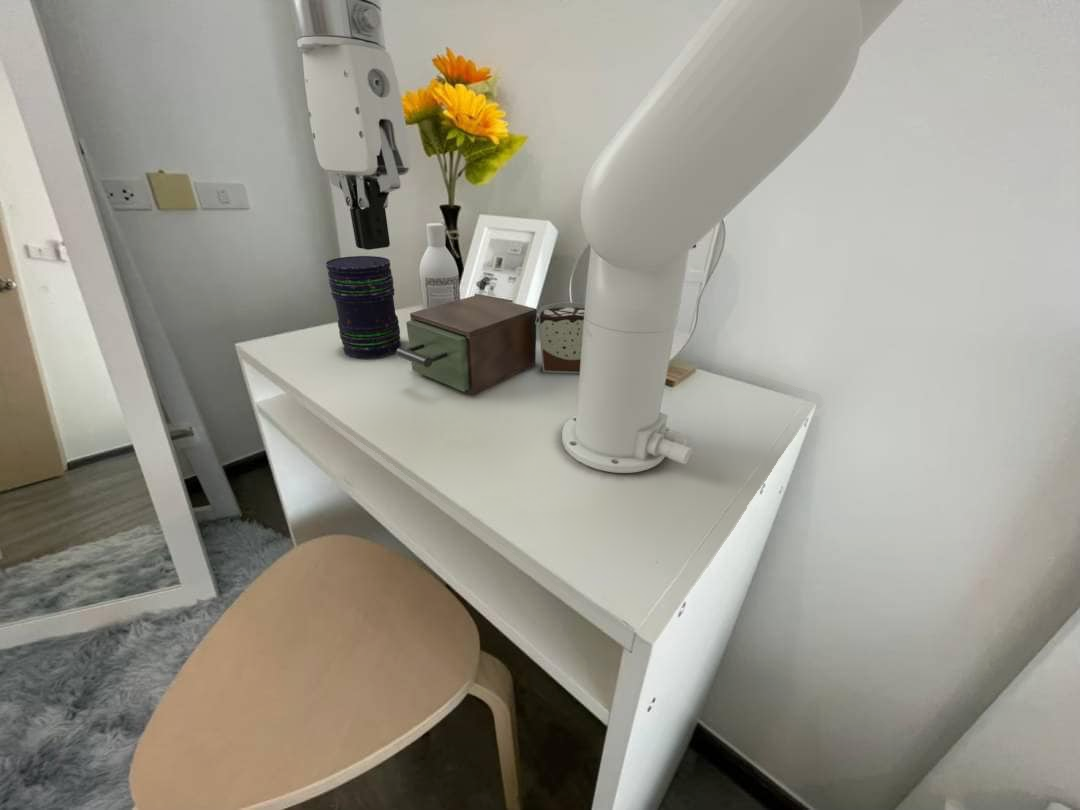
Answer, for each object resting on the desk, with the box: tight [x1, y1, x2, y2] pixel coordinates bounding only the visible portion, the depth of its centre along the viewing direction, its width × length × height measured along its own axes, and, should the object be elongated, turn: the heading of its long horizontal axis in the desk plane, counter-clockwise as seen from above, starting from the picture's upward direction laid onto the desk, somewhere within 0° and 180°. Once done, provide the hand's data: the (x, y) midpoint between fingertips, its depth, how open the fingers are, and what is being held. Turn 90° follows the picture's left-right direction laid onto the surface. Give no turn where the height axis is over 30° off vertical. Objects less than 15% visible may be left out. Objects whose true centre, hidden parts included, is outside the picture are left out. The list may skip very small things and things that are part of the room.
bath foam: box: [418, 222, 461, 310], centre depth 80 cm, size 7×7×20 cm
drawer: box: [395, 319, 470, 393], centre depth 66 cm, size 18×11×8 cm, turn 142°
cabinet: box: [409, 294, 538, 396], centre depth 69 cm, size 15×13×10 cm
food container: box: [535, 302, 585, 375], centre depth 71 cm, size 12×6×10 cm, turn 88°
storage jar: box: [325, 255, 402, 360], centre depth 74 cm, size 10×10×15 cm
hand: (373, 247), depth 48 cm, fingers closed
